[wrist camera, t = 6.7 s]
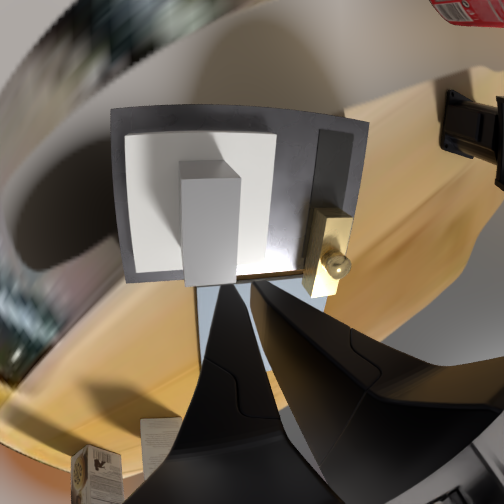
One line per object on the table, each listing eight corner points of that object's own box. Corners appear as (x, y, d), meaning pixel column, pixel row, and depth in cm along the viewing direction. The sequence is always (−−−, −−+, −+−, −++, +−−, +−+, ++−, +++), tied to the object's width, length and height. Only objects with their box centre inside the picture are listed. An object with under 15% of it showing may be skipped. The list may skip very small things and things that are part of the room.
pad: (330, 271, 26) (332, 274, 26) (307, 359, 32) (308, 362, 31) (196, 284, 23) (196, 287, 23) (202, 376, 29) (203, 380, 28)
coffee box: (101, 466, 36) (108, 542, 22) (70, 456, 33) (72, 535, 19) (122, 454, 35) (132, 542, 21) (87, 443, 31) (90, 536, 18)
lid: (269, 132, 16) (308, 145, 12) (259, 254, 20) (286, 301, 15) (128, 133, 14) (109, 146, 9) (137, 262, 18) (131, 315, 13)
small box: (186, 440, 35) (199, 503, 26) (149, 442, 34) (157, 505, 25) (182, 415, 32) (196, 489, 23) (139, 417, 30) (145, 492, 21)
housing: (345, 118, 20) (370, 122, 17) (325, 247, 25) (343, 265, 22) (119, 108, 15) (110, 108, 13) (130, 260, 21) (126, 283, 18)
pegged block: (339, 207, 20) (363, 225, 17) (324, 281, 22) (343, 304, 20) (314, 207, 19) (336, 225, 16) (301, 283, 22) (318, 308, 19)
